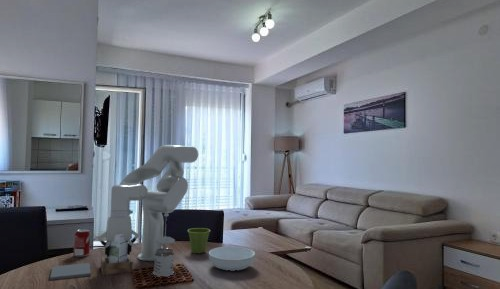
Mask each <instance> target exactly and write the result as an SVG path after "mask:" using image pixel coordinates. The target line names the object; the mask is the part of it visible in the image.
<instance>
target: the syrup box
mask: <svg viewBox="0 0 500 289" xmlns="http://www.w3.org/2000/svg"><path fill="white" fill-rule="evenodd" d="M127 259H128V241H127V240H124V234H117V235H115V239H114V241H113V242H111V243H110V244H109V259H108V263H118V262H127Z"/></svg>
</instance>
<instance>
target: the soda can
mask: <svg viewBox="0 0 500 289" xmlns="http://www.w3.org/2000/svg"><path fill="white" fill-rule="evenodd" d="M91 234H92V233H91V231H90V229H89V228H88V229H87V228H81V229H77V230H76V232H75V234H74V239H73V240H74V241H73V242H74V243H73V244H74V245H73V256H75V257H76V258H84V257H88V255H90V248H91Z"/></svg>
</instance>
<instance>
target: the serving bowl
mask: <svg viewBox="0 0 500 289" xmlns="http://www.w3.org/2000/svg"><path fill="white" fill-rule="evenodd" d="M255 256H256V252H255V251H254V250H253V249H249V248H247V247H242V246H219V247H214V248H212V249H210V250H209V251H208V257H209V258H208V259H209V261H210V262H211V263H210V264H212V265H213V266H214V267H215V268H217V269H220V270H224V271H228V270H230V271H229V272H234V271H235V270H237V271H241V270H244V269H245V270H246V269H247V268H249V267H250V266H251V265H252V264H253V262H254V260H255ZM235 272H236V271H235Z"/></svg>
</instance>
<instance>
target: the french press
mask: <svg viewBox="0 0 500 289" xmlns="http://www.w3.org/2000/svg"><path fill="white" fill-rule="evenodd" d="M163 214H164V215H163V217H165V220H167V217H169V216H170V215H169V214H170V213H163ZM164 231H165V232H164V235H163V237H160V238H158V239H156V240H155V242H157V243H159V246H160V244H162V246H163V248H160V249H157V250H156V252H157V253H155V258H154V261H153V262H154V263H153V271H152V273H153V274H154V275H157V276H170V275H172V274H173V273H174V272H175V271H174V258H175V257H174V255H175V253H174V249H173V248H172V249H171V247H170V248H169V247H166V245H168V244H170V245H171V244H173V243H175V241H176V239H174V238H173V237H171V236H167V234H166V233H167V225H165V228H164ZM161 253H162V254H163V257H161ZM155 260H156V261H155Z"/></svg>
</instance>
